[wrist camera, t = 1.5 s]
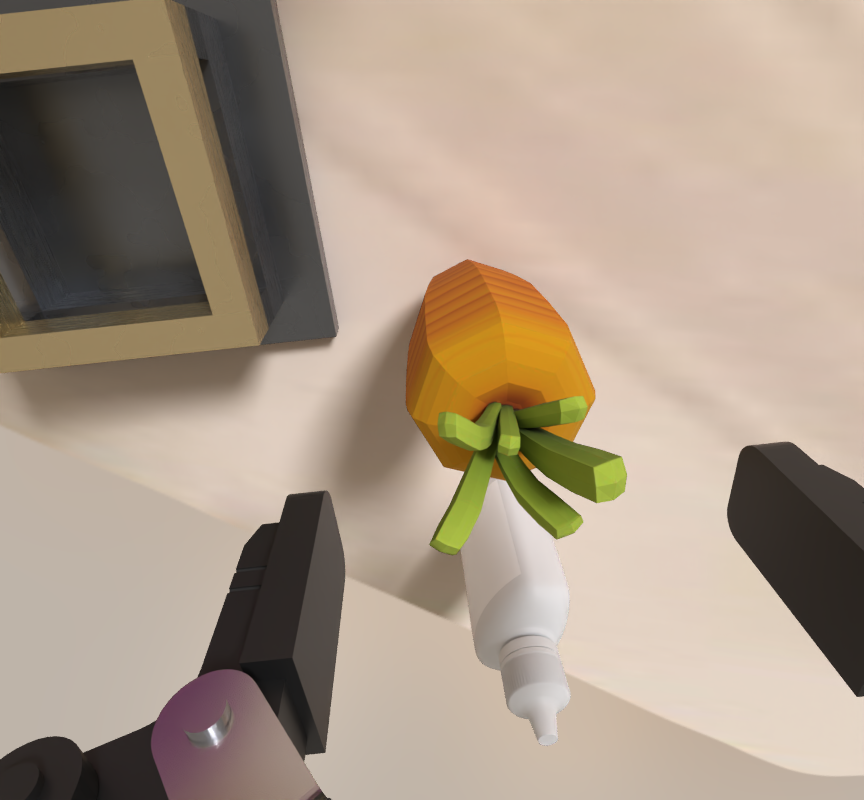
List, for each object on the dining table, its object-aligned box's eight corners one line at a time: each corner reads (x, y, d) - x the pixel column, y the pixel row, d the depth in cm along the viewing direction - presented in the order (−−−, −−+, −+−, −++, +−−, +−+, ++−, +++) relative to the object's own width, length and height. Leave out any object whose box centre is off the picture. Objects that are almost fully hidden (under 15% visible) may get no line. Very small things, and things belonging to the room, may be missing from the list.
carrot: (409, 340, 24) (421, 630, 11) (395, 227, 22) (391, 427, 9) (519, 329, 24) (661, 605, 11) (518, 214, 22) (700, 395, 9)
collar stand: (-140, -9, 17) (-349, -49, 12) (265, -52, 17) (214, -109, 12) (44, 359, 24) (-47, 426, 19) (338, 327, 24) (323, 386, 19)
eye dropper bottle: (429, 515, 29) (447, 748, 19) (512, 458, 28) (581, 678, 17) (479, 557, 31) (519, 791, 21) (559, 505, 29) (648, 731, 19)
